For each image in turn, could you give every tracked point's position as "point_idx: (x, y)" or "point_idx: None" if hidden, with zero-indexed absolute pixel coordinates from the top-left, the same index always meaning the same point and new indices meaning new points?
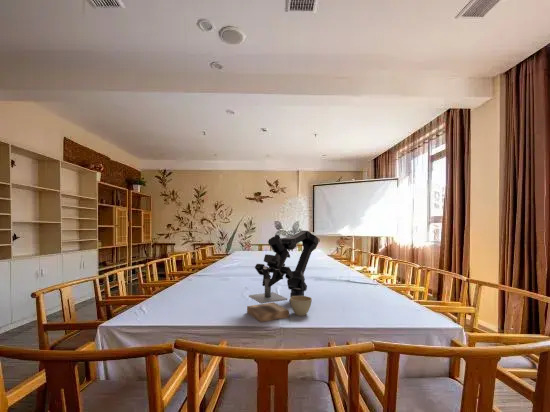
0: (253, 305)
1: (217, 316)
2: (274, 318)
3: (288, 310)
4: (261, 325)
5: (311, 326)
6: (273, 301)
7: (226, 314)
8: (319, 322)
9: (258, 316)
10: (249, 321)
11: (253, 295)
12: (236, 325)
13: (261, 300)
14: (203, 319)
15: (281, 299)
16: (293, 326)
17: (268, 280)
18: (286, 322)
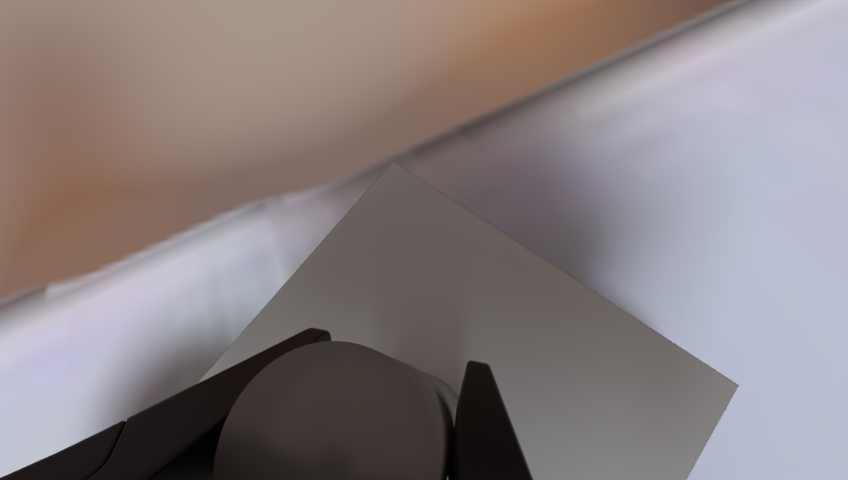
0: None
1: (811, 188)
2: None
3: None
4: None
5: (72, 303)
6: (291, 287)
7: (790, 263)
8: (10, 409)
9: None
10: (500, 205)
11: (658, 404)
12: (536, 110)
13: (417, 220)
14: (840, 93)
15: (204, 377)
16: (185, 252)
17: (283, 366)
18: (241, 303)
